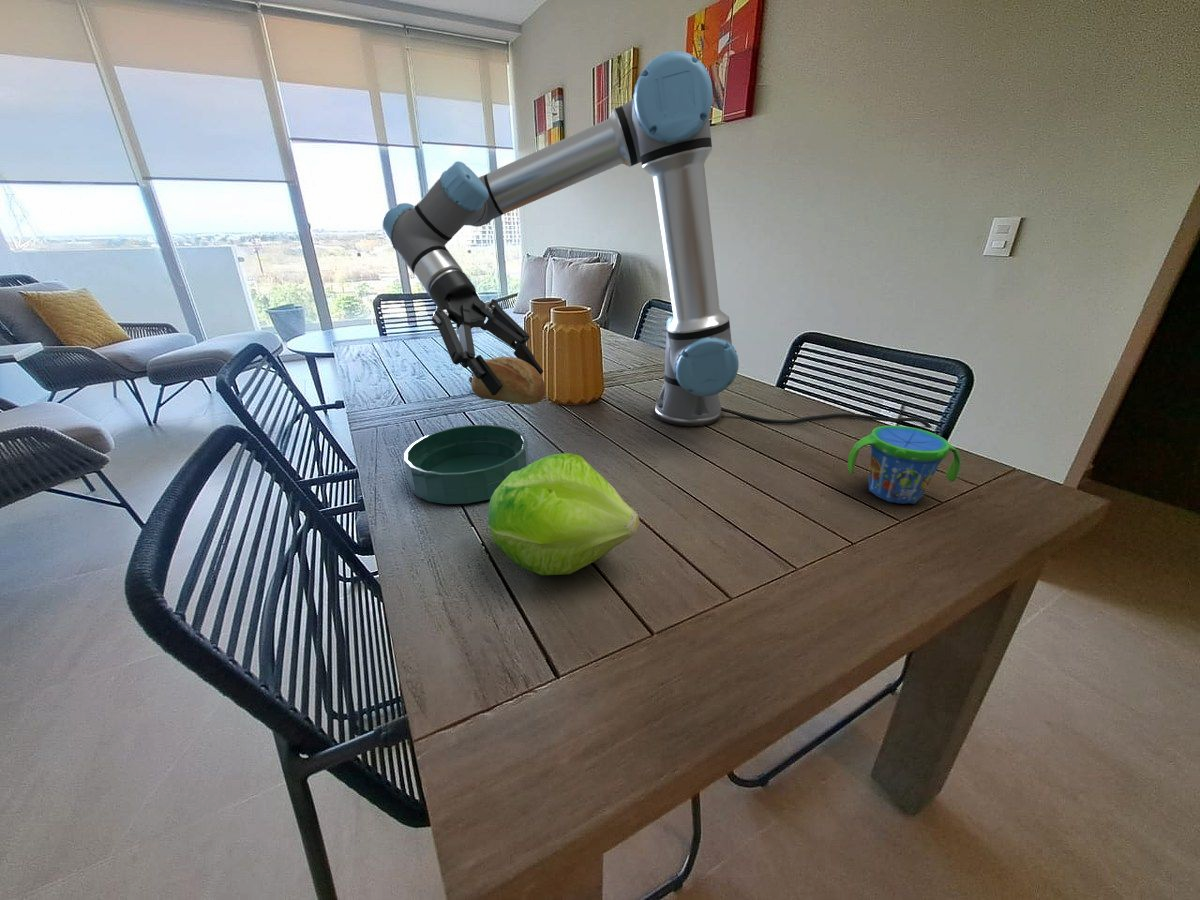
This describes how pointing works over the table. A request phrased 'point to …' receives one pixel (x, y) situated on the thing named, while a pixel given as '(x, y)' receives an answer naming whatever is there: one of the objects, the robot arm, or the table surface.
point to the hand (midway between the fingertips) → (519, 383)
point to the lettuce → (558, 515)
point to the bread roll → (512, 382)
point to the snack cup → (904, 461)
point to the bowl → (464, 462)
